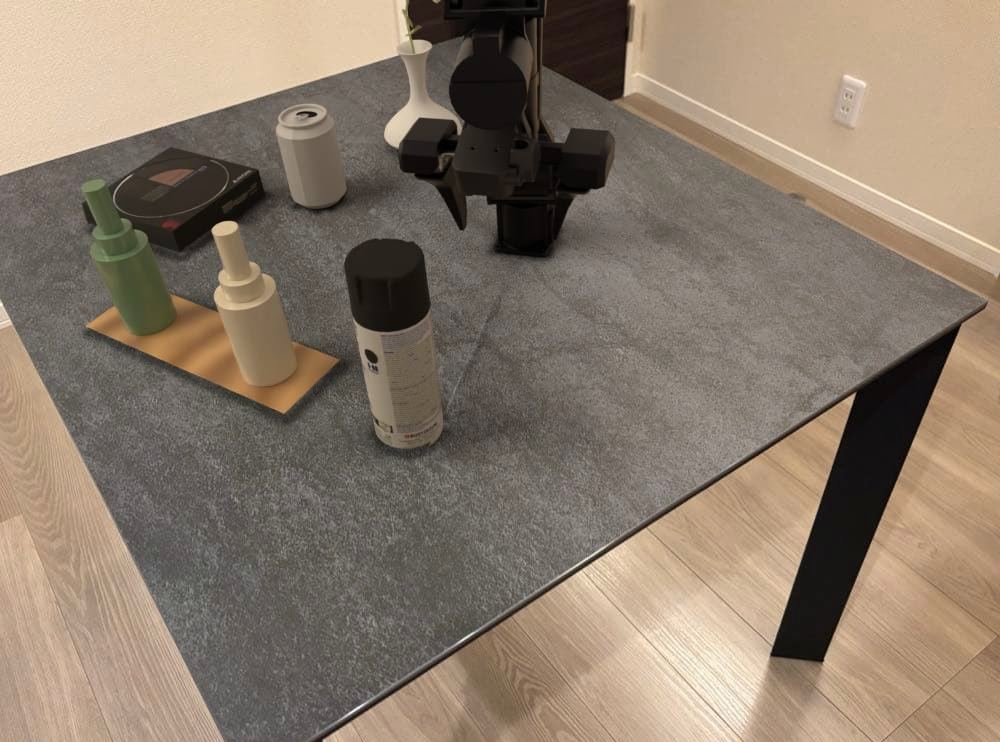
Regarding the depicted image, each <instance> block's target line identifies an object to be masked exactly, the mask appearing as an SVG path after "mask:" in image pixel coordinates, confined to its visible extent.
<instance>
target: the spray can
mask: <svg viewBox="0 0 1000 742" xmlns="http://www.w3.org/2000/svg"><path fill="white" fill-rule="evenodd" d="M343 269H344V274H345V281H346V287H347V293H348V298H349V305H350V312H351V316H352V321H353V326H354V330H355V335H356V336H355V337H356V340H357V341H356V342H357V346H358V350H359V356H360V362H361V366H362V372H363V376H364V377H363V378H364V381H365V387H366V390H367V396H368V402H369V407H370V410H371V417H372V422H373V427H374V432H375V434H376V436H377V438H379V440H380V441H381V442H382V443H384V444H385V445H387V446H389V447H392V448H396V449H414V448H418V447H422V446H424V445H427V444H429V445H428V448H430V447H431V446H433V445H434V444H435V443H436V442H437V441H438V440H439V438H440V437H441V435H442V432H443V428H444V415H443V406H442V397H441V389H440V387H441V386H440V378H439V371H438V360H437V352H436V351H437V350H436V342H435V334H434V324H433V316H432V315H433V314H432V307H431V306H432V302H431V297H430V290H429V283H428V276H427V267H426V258H425V254H424V251H423V249H422V248H421V246H420V245H419V244H417V243H416V242H415V241H413V240H411V241H406V240H404V239H399V238H387V237H385V238H378V237H374V238H371V239H367V240H365V241H363V242H361V243H359V244H357V245H356V246H354V247H353V248H351V249H350V251H349V252H348V253H347V255H346V256H345V258H344V262H343Z"/></svg>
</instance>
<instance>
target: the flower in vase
mask: <svg viewBox="0 0 1000 742" xmlns="http://www.w3.org/2000/svg"><path fill="white" fill-rule="evenodd" d="M432 2H433V3H435V4H439V3H440V2H441V0H432ZM409 4H410V0H406V1H405V7H404V8H401V12H402V14H403V17H404V19H405V24H406V30H407V34H405V36H404V37H405V38H406V37H409V38H408V39H409V40H406V41H403V42H400V43H398V44H397V45H396V46H395V49H394V50H395V52H396V53H397V54H398V56H400V58H401V60H402V62H403V64H404V66H405V68H406V73H407V76H408V82H409V89H410V94H409V95H410V96H409V99H408V102H407V103H406V104H405V105H404V106H403V107H402V108H401V109H400V110H398V112H397V113H395V115H393V117H391V119H390V120H389V121H388V122H387V124H386V125H385V129H384V133H383V136H384V139H385V141H386V142H387V143H388V144H389V145H390V146H391V147H392V148H394V149H395V150H397V151H398V148H399V143H400V142H401V141H402V139H403V138H404V136H405V135H406V133H407V132H408V131H409V129H410V128H411V126H412V125H413V124H414V123H415V121H416V120H417V119H418V118H419V117H421V118H435V119H450V120H454V121H455V122H456V124H457V130H458V135H461V133H462V129H463V126H462V124H461V122H460V120H459V117H457V116H456V115H455V114H454V113H453V112H452V111H450V110H448V109H446V108H445V107H443V106H442V105H440V104H438V103H437V102H435V101H433V100H432V99H431V98H430V96H429V94H428V91H427V84H426V65H427V59H428V56H429V53H430V52H431V50H432V48H433V44H432V43H431V42H430V41H428V40H424V39H413V37H412V35H413V34H414V33H416V32H417V31H418V30H420V29H422V28H423V26H421V25H419V24H417V25H416V26H415V28H414V27H413V22H412V20H411V19H410V17H409V15H408V12H409V11H408V10H409V9H408V8H409ZM410 27H411V28H414V29H412V30H411V28H410Z"/></svg>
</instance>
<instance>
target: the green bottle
mask: <svg viewBox="0 0 1000 742" xmlns="http://www.w3.org/2000/svg"><path fill="white" fill-rule="evenodd" d="M80 190H81V192H82V194H83V196H84V199H85V201H87V203H88V206H89V208H90V210H91V212H92V215H93V217H94V219H95V221H96V224H97V225H95V227H94V228H93V229H92V232H91V233H92V237H93V239H94V242H93V244H92V245H91V247H90V250H89V254H90V257H91V259H92V261H93V263H94V265H95V267H96V270H97V272H98V274H99V276H100V278H101V281H102V282H103V285H104V287H105V289H106V291H107V294H108V296H109V298H110V300H111V302H112V304H113V306H115V309H116V311H117V313H118V315H119V317H120V319H121V321H122V324H123V326H124V328H125V330H126V331H127V332H129V333H130V334H133V335H139V336H144V335H151V334H155V333H158V332H160V331H162V330H164V329H166V328H167V327H169V326H170V325H171V324H172V323H173V322H174V321H175V319H176V317H177V310H176V307H175V305H174V302H173V300H172V297H171V295H170V294H171V292H170V290H169V288H168V287H169V286H168V285H167V282H166V280H165V277H164V274H163V272H162V270H161V267H160V265H159V262H158V260H157V257H156V254H155V251H154V250H153V247H152V245H151V243H150V242H149V240H148V237H147V235H146V234H145V233H144V232H142V231H139V230H135V229H133V226H132V224H131V222H130V221H129V220H127V219H124V218H120V216H119V213H118V211H117V208H116V206H115V204H114V201H113V199H112V196H111V194H110V192H109V189H108V184H107V182H106V181H105V180H104V179H98V178H97V179H92V180H89V181H85V183H83V184H82V185H81V187H80Z"/></svg>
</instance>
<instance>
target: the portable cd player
mask: <svg viewBox="0 0 1000 742" xmlns="http://www.w3.org/2000/svg"><path fill="white" fill-rule="evenodd" d="M107 187H108V189H109V192H110V194H111V196H112V199H113V201H114V204H115V206H116V208H117V211H118V213H119V216H120V218H124V219H127V220H129V221H130V222H131V224H132V226H133V229H135V230H139V231H142V232H144V233H145V234H146V235H147V237H148V240H149V242H150V244H153V245H155V246H159V247H161V248H165V249H168V250H170V251H174V252H177V253H181V252H183V251H184V250H185V249H187V248H188V247H189V246H190V245H192V244H193V243H194V242H196V241H197V240H199V239H200V238H202V236H204V235H206V234H207V233H208V232H209V231H212V228H213V227H214V226H215V225H217V224H218V223H221V222H225V221H233V222H234V220H236V219H237V218H238V217H239V216H241V215H242V214H243V213H245V212H246V211H247V210H249V209H250V208H252V207H253V206H254V205H255V204H256V203H258V202H260V201H261V200H262V199H263V198H264V197H266V192H265V188H264V184H263V180H262V177H261V173H260V170H259V168H255V167H252V166H247V165H243V164H239V163H237V162H236V163H235V162H232V161H228V160H224V159H220V158H216V157H213V156H209V155H204V154H200V153H198V152H197V153H196V152H193V151H189V150H185V149H181V148H178V147H174V146H170V147H168V148H166V149H165V150H163V151H161V152H160V153H158V154H157V155H155V156H153V157H152V158H150V159H148V161H146V162H145V163H142V164H141V165H139V166H138V167H136V168H135V169H133V170H131V171H130V172H129V173H127V174H125V175H124V176H122V177H121V178H119V179H117V180H116V181H115V182H113V183H111V184H109V185H107ZM81 207H82V209H83V213H84V216H85V221H86V222H87V223H88V224H90V225H91V224H92V225H93V226H97V224H96V221H95V219H94V217H93V215H92V212H91V210H90V208H89V206H88V203H87V201H86V200H84V201H83V202H81Z"/></svg>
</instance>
